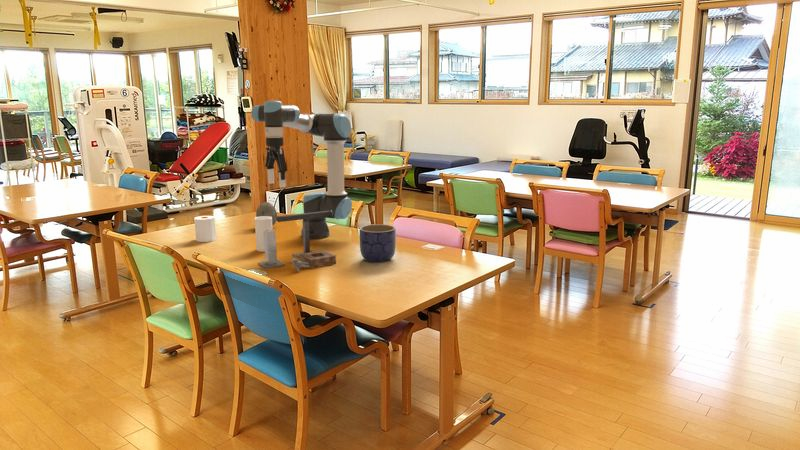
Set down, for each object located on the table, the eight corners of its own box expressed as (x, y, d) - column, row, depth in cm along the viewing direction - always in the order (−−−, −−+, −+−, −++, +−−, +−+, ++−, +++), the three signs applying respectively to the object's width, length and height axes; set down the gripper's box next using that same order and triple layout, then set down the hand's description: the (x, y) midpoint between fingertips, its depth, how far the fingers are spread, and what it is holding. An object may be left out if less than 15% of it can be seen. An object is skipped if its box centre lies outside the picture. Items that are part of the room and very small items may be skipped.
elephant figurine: (315, 271, 243) (298, 268, 237) (306, 279, 246) (290, 276, 239) (308, 252, 249) (292, 249, 242) (300, 260, 251) (284, 257, 245)
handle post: (311, 253, 271) (309, 218, 267) (318, 257, 264) (317, 221, 260) (295, 255, 266) (294, 220, 263) (302, 259, 260) (301, 223, 256)
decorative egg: (275, 229, 319) (273, 203, 316) (254, 229, 319) (252, 203, 316) (279, 225, 330) (278, 200, 327) (259, 225, 331) (258, 200, 327)
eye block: (324, 257, 264) (323, 250, 263) (335, 263, 254) (335, 255, 253) (300, 261, 257) (299, 253, 256) (311, 267, 247) (310, 260, 247)
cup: (269, 252, 273) (267, 219, 269) (253, 251, 275) (251, 219, 271) (276, 247, 281) (274, 216, 277) (260, 247, 282) (259, 215, 279)
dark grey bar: (275, 223, 256) (275, 215, 255) (331, 217, 270) (331, 209, 269) (277, 224, 253) (277, 216, 253) (334, 218, 267) (334, 210, 266)
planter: (368, 266, 249) (368, 233, 246) (354, 257, 263) (353, 226, 260) (402, 261, 256) (402, 229, 253) (386, 253, 271) (385, 222, 267)
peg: (273, 261, 254) (272, 229, 251) (277, 263, 251) (275, 230, 248) (265, 263, 252) (263, 230, 249) (268, 265, 249) (266, 232, 246)
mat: (277, 260, 258) (277, 259, 258) (284, 265, 251) (284, 264, 250) (258, 264, 253) (257, 262, 253) (265, 268, 246) (265, 267, 246)
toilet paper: (191, 241, 294) (189, 218, 291) (205, 236, 303) (203, 214, 301) (207, 243, 290) (205, 220, 288) (220, 238, 300) (218, 216, 297)
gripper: (256, 135, 254) (259, 182, 259) (276, 138, 234) (279, 189, 239) (272, 135, 258) (274, 181, 263) (293, 138, 238) (295, 188, 243)
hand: (276, 185), depth 251 cm, fingers open, 13 cm apart
